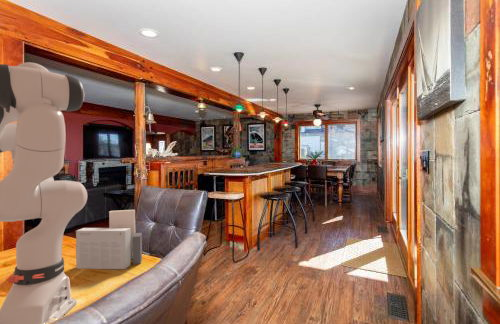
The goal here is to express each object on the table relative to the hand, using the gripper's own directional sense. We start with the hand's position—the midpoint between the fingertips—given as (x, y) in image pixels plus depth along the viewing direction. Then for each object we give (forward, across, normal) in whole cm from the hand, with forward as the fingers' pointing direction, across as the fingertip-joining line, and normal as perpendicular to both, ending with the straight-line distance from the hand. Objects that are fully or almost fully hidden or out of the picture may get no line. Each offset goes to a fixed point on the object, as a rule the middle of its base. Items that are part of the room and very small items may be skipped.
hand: (42, 194), depth 109 cm
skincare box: (+37, +7, -7) cm, 38 cm away
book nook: (+39, +10, -14) cm, 43 cm away
